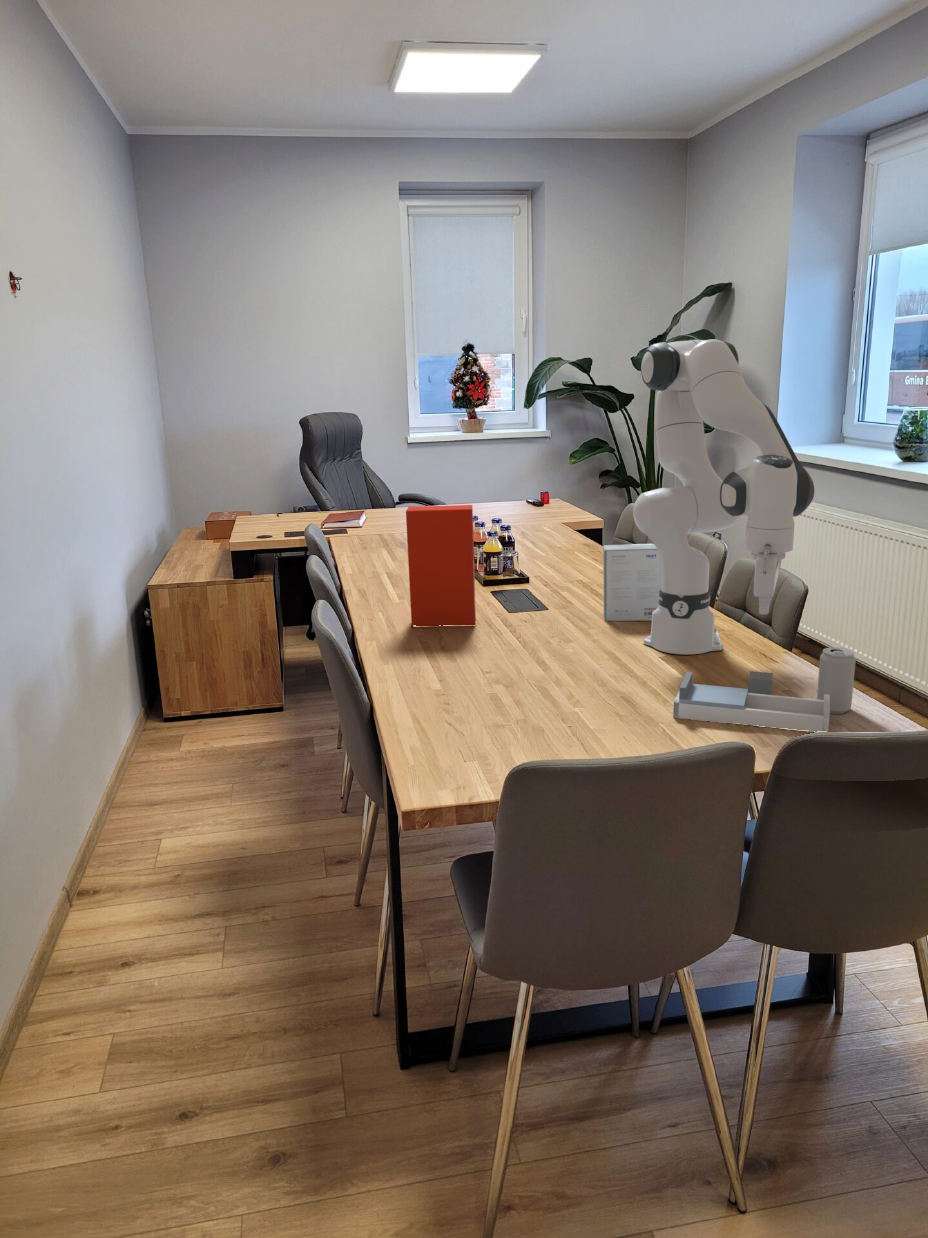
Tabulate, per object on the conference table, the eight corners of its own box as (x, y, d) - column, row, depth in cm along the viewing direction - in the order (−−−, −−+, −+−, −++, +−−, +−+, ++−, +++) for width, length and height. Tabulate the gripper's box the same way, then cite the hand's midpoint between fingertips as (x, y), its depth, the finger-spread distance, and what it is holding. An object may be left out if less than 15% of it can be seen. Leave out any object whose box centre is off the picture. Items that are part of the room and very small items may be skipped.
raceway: (680, 701, 181) (681, 680, 179) (827, 716, 170) (829, 694, 169) (673, 717, 172) (673, 696, 171) (827, 734, 162) (829, 712, 161)
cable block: (771, 696, 182) (773, 673, 181) (770, 703, 178) (771, 680, 177) (748, 693, 184) (750, 671, 182) (746, 701, 180) (748, 678, 178)
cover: (686, 686, 179) (686, 671, 179) (747, 692, 175) (748, 677, 174) (679, 702, 171) (679, 687, 170) (743, 709, 167) (744, 693, 166)
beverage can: (842, 702, 177) (847, 645, 174) (856, 714, 171) (862, 655, 168) (810, 703, 177) (815, 646, 174) (824, 715, 171) (829, 656, 168)
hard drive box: (658, 613, 245) (660, 543, 240) (662, 621, 238) (664, 548, 233) (602, 614, 247) (603, 543, 242) (603, 621, 240) (604, 549, 234)
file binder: (475, 626, 239) (471, 508, 230) (411, 628, 239) (405, 510, 231) (475, 618, 246) (472, 504, 238) (414, 620, 247) (408, 506, 239)
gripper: (784, 551, 162) (779, 623, 165) (788, 531, 180) (784, 597, 184) (748, 549, 164) (743, 621, 168) (756, 530, 182) (752, 595, 186)
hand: (764, 608), depth 176 cm, fingers open, 6 cm apart
